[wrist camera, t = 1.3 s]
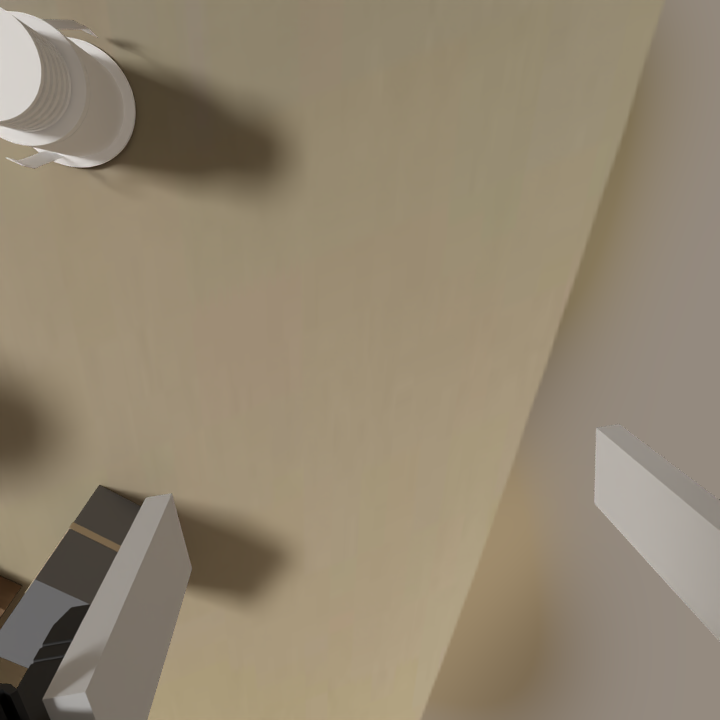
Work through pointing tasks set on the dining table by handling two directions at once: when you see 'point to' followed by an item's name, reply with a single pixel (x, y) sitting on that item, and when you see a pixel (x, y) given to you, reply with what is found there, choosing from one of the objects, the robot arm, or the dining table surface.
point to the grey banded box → (68, 574)
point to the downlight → (61, 94)
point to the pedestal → (7, 593)
